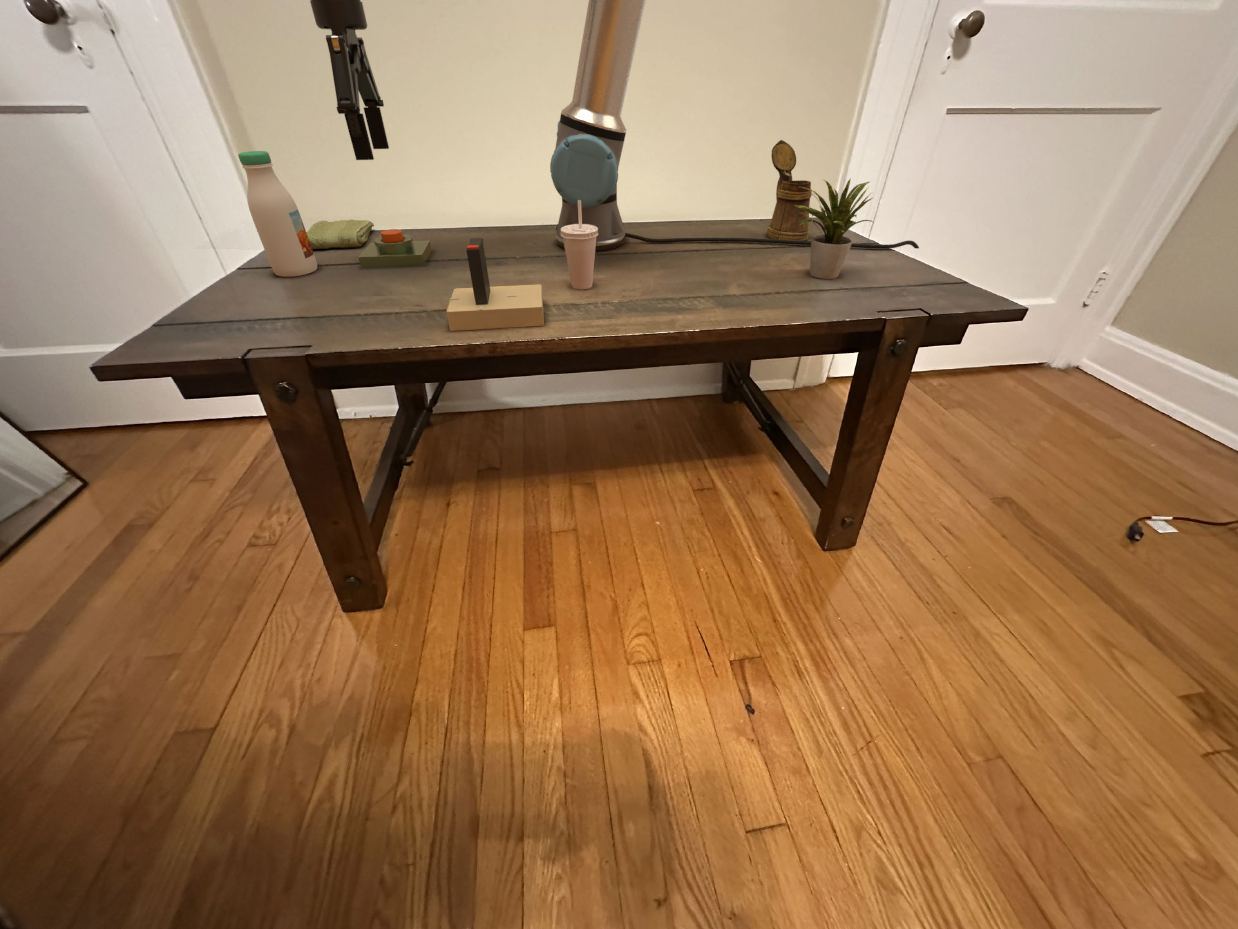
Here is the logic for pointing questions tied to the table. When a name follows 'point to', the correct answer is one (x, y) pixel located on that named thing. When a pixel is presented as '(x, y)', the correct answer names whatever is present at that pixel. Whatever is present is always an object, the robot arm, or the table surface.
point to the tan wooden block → (497, 308)
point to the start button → (392, 235)
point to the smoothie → (580, 251)
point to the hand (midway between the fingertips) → (373, 154)
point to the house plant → (833, 230)
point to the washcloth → (339, 234)
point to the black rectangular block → (478, 270)
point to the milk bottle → (276, 218)
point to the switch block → (395, 253)
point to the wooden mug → (788, 198)
